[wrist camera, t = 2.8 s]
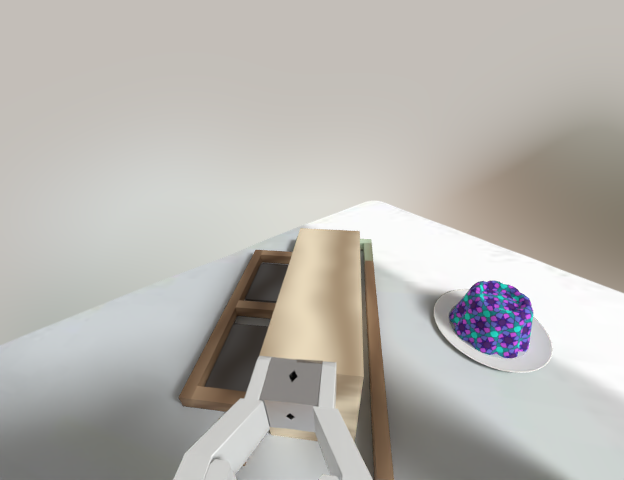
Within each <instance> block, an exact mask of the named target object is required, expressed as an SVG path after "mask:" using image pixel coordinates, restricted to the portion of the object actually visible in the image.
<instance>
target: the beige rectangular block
mask: <svg viewBox="0 0 624 480" xmlns="http://www.w3.org/2000/svg"><path fill="white" fill-rule="evenodd" d="M259 356H269V357H277V358H288V359H303V360H318V361H327V362H336V364H337V366H336V406H335V408H336V409H338V410H339V412H340V414H341V416H342V418H343V420H344V422H345V424H346V426H347V428H348V430H349V432H350V434H351V436H352V439H353V441H354V443H355V436H356V428H357V421H358V414H359V407H360V400H361V393H362V385H363V378H364V369H363V334H362V299H361V264H360V231H344V230H324V229H303V228H300V232H299V235H298V238H297V241H296V244H295V247H294V250H293V253H292V256H291V259H290V262H289V265H288V269H287V272H286V275H285V278H284V281H283V284H282V287H281V290H280V293H279V296H278V299H277V302H276V306H275V309H274V312H273V315H272V318H271V321H270V324H269V327H268V330H267V333H266V336H265V340H264V343H263V346H262V349H261V352H260V355H259ZM270 432H271V435H277V436H284V437H291V438H298V439H305V440H313V441H318V440H317V437H316V434H315V432H308V431H301V430H295V429H285V428H274V427H270Z"/></svg>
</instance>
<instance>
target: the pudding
mask: <svg viewBox="0 0 624 480" xmlns="http://www.w3.org/2000/svg"><path fill="white" fill-rule="evenodd" d="M455 305H456V306H455ZM454 306H455V308H454V309H453V311H452V312H451V313H450V311H451V309H452V308H453V307H454ZM449 313H450V316H449ZM449 317H450V321H451V322H452V323H453V324H454V325H455V329H454V330H455V332H456V333H455V332H454V331H453V329H452V327H451V325H450V322H449ZM434 318H435V322H436V324H437V326H438V328H439V330H440V331H441V333H442V334H443V335H444V337H445V338H446V339H447V340H448V341H449V342H450V343H451V344H452V345H453V346H454V347H456V348H457V349H458V350H459V351H461V352H462V353H464V354H465V355H467V356H468V357H470V358H471V359H473V360H475V361H477V362H479V363H481V364H484V365H486V366H489V367H491V368H495V369H499V370H502V371H508V372H515V373H524V372H531V371H536V370H538V369H540V368H542V367H544V366H545V365H546V364H547V363H548V362H549V361H550V359H551V357H552V351H553V348H552V342H551V340H550V337H549V335H548V333H547V332H546V330H545V329H544V327H543V326H542V325H541V324H540V323H539V322H538V320H537V319H535V318H534V317H533V309H532V307H531V302H530V300H529V298H528V297H526V296H525V295H524V294H522V293H520V292H519V291H518V289H516V288H515V287H513V286H510V285H505V284H502V283H500V282H498V281H488V282H484V281H481V282H477V283H476V284H474V285H473V286H472V287H471V288H470V289H459V290H453V291H450V292H447V293H445V294H444V295H442V296H441V297H440V298H439V299H438V300H437V302H436V303H435V306H434ZM456 334H457V335H458V336H459V337H460V338H461V339H462V340H465V341H468V342H471V344H472V345H473V346H474V348H475V349H477V350H478V351H477V350H475V349H474V348H472V347H470V346H469V345H467V344H466V343H465V342H464V341H462V340H461V339H460V338H459V337H458V336H457V335H456ZM529 343H530V344H529ZM527 349H528V350H527ZM526 350H527V352H526V353H525V354H523V355H522V356H520V357H517V354H518V351H526ZM479 351H480V352H479ZM481 352H482V353H481ZM484 353H485V354H484ZM486 354H488V355H486ZM492 354H498V355H500V356H502V357H504V358H511V359H504V358H497V357H493V356H489V355H492ZM514 357H517V358H514Z"/></svg>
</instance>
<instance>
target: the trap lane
mask: <svg viewBox="0 0 624 480" xmlns="http://www.w3.org/2000/svg"><path fill="white" fill-rule="evenodd" d="M297 238H298V237H297ZM296 241H297V240H296ZM295 244H296V243H295ZM294 247H295V246H294ZM293 250H294V249H293ZM360 250H363V254H364V275H365V295H366V316H367V337H368V358H369V379H370V400H371V421H372V442H373V463H374V480H394V476H393V465H392V454H391V444H390V433H389V423H388V412H387V402H386V391H385V380H384V370H383V359H382V349H381V338H380V328H379V317H378V306H377V296H376V285H375V275H374V264H373V254H372V243H371V239H360ZM292 253H293V252H284V251H267V250H255V252H254V254H253V256H252V258H251V260H250V262H249V264H248V266H247V267H246V269H245V271H244V273H243V275H242V277H241V279H240V281H239V283H238V285H237V287H236V288H235V290H234V292H233V294H232V296H231V298H230V300H229V302H228V304H227V306H226V308H225V310H224V311H223V313H222V315H221V317H220V319H219V321H218V323H217V325H216V327H215V329H214V331H213V332H212V334H211V336H210V338H209V340H208V342H207V344H206V346H205V348H204V350H203V352H202V353H201V355H200V357H199V359H198V361H197V363H196V365H195V367H194V369H193V371H192V373H191V375H190V376H189V378H188V380H187V382H186V384H185V386H184V388H183V390H182V392H181V394H180V396H179V399H180V401H181V403H182V405H183V406H186V407H194V408H201V409H209V410H217V411H225V412H227V411H228V410H229V409H230V408H231V407H232V406H233V405H234V404H235V403H236V402H237V401H238V400H239V399H240V398H244V397H245V394H246V391H247V388H248V385H249V382H250V379H251V376H252V373H253V370H254V367H255V364H256V361H257V359H258V357H259V355H260V352H261V349H262V346H263V343H264V340H265V336H266V333H267V330H268V327H266V326H255V325H244V324H234V322H235V320H236V318H237V316H246V317H258V318H269V319H271V318H272V315H273V312H274V309H275V306H276V302H277V299H278V296H279V293H280V290H281V287H282V284H283V281H284V278H285V275H286V272H287V269H288V265H282V264H289V262H290V259H291V256H292ZM262 262H264V263H262ZM266 263H280V264H266ZM244 300H247V301H244ZM255 301H260V302H255ZM268 302H272V303H268ZM245 464H246V462H245V463H244V464H243V466H245Z"/></svg>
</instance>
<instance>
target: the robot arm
mask: <svg viewBox="0 0 624 480" xmlns="http://www.w3.org/2000/svg"><path fill="white" fill-rule="evenodd" d="M336 366H337V364H336V362H327V361H318V360H303V359H288V358H277V357H269V356H259V357H258V359H257V361H256V364H255V367H254V370H253V373H252V376H251V379H250V382H249V385H248V388H247V391H246V394H245V397H244V398H240V399H239V400H238V401H237V402H236V403H235V404H234V405H233V406H232V407H231V408H230V409H229V410H228V411H227V412H226V413H225V414H224V415H223V416H222V417H221V418H220V419H219V420H218V421H217V422H216V423H215V424H214V425H213V426H212V427H211V428H210V429H209V430H208V431H207V432H206V433H205V434H204V435H203V436H202V437H201V438H200V439H199V440H198V441H197V442H196V443H195V444H194V445H193V446H192V447H191V448H190V449H189V450H188V451H187V452H186V453H185V454H184V456H183V459H182V461H181V463H180V465H179V468H178V470H177V472H176V475H175V477H174V479H173V480H237V478H236V476H235V475H236V474H237V472H238V471H239V470H240V468H241V467H242V466H243V464H244V463H245V462H246V460H247V459H248V458H249V456H250V455H251V454H252V452H253V451H254V450H255V448H256V447H257V446H258V444H259V443H260V442H261V440H262V439H263V438H264V436H265V435H266V434H267V432H268V431H269V430H270V427H274V428H285V429H295V430H301V431H308V432H315V434H316V437H317V440H318V442H319V445H320V448H321V451H322V453H323V456H324V459H325V461H326V464H327V467H328V469H329V472H330V475H325V474H322V475H321V476H320V478H319V479H318V480H373V479H372V477H371V475H370V473H369V471H368V469H367V467H366V465H365V463H364V461H363V459H362V457H361V455H360V453H359V451H358V449H357V447H356V445H355V443H354V441H353V439H352V436H351V434H350V432H349V430H348V428H347V426H346V424H345V422H344V420H343V418H342V416H341V414H340V412H339V410H338V409H336V408H335V406H336Z"/></svg>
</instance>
